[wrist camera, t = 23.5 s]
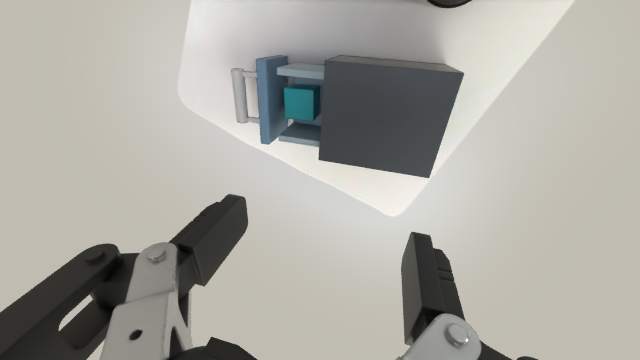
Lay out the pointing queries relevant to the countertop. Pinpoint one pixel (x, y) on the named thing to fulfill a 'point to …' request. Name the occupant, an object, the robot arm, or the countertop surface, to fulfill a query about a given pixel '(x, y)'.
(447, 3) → the aerosol can
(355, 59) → the dark grey drawer cabinet
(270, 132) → the blue drawer
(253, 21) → the countertop surface
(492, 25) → the countertop surface
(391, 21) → the countertop surface
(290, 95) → the teal cube
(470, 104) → the countertop surface
